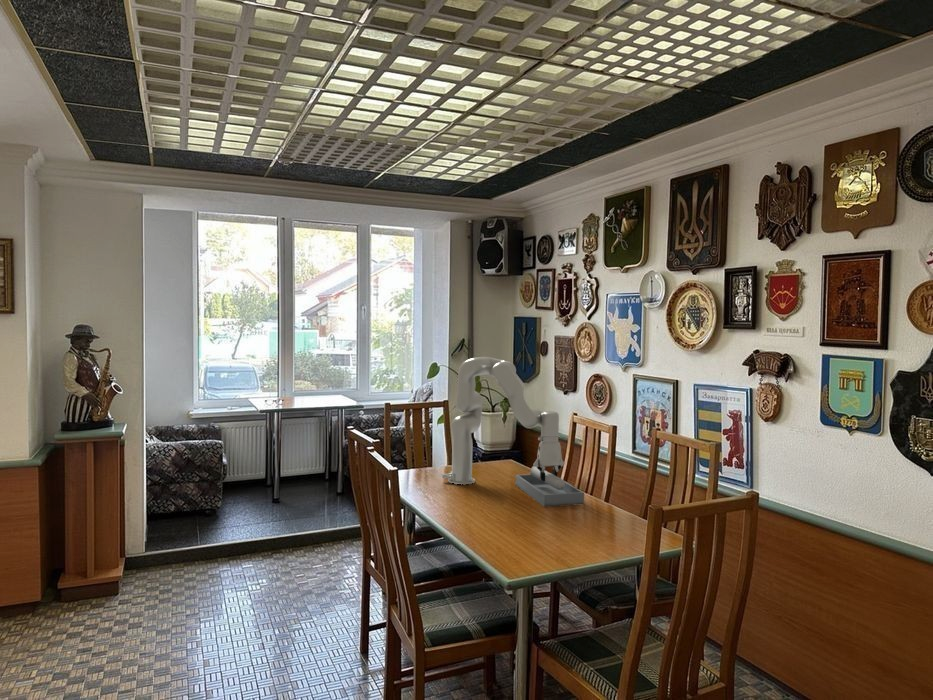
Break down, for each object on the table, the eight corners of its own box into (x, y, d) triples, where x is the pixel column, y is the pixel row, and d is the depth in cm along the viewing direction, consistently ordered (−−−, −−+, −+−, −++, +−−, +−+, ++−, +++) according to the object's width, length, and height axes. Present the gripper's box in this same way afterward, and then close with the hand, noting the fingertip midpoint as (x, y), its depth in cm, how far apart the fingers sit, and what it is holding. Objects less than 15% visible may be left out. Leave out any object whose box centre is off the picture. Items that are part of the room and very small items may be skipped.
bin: (544, 506, 256) (544, 494, 256) (515, 485, 289) (515, 474, 288) (583, 504, 261) (584, 492, 260) (551, 483, 293) (551, 473, 293)
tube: (569, 481, 264) (541, 467, 287) (559, 478, 262) (532, 464, 285) (565, 493, 264) (538, 478, 287) (555, 490, 262) (528, 475, 285)
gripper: (534, 441, 268) (533, 483, 268) (570, 440, 272) (569, 481, 273) (528, 438, 275) (527, 479, 276) (563, 437, 279) (562, 477, 280)
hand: (548, 480), depth 274 cm, fingers closed on tube, 4 cm apart
